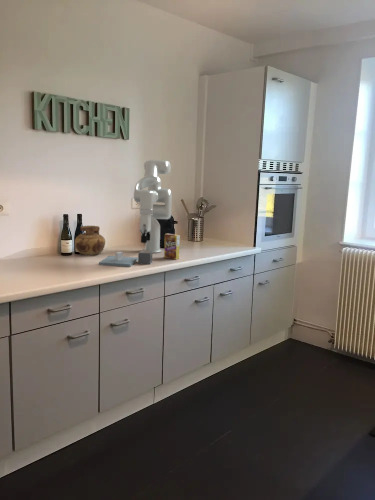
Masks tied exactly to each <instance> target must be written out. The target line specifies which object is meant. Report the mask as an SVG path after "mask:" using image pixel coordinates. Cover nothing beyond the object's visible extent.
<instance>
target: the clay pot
mask: <svg viewBox="0 0 375 500" xmlns="http://www.w3.org/2000/svg"><path fill="white" fill-rule="evenodd" d="M79 228H80V231H81V232H83V233H80V234H78V235H77V236H76V237H75V239H74V247H75V249H76V251H77V252H78V253H79V254H81V255H82V256H83V255H84V256H97V255H100V254H101V253H103V251H104V248H105V247H106V239H105V237H104V236H102V235H101V234H100V226H98V225H82V226H81V225H80V227H79Z"/></svg>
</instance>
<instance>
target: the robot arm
mask: <svg viewBox="0 0 375 500" xmlns="http://www.w3.org/2000/svg"><path fill="white" fill-rule="evenodd" d="M171 166H172V165H171V163H170V161H169V160H163V159H150V160H146V161H145V162H144V164H143V167H144V173H143V174H144V176H143V177H142V178H140V179H139V180H138V181H137V182H136V183H135V186H134V191H133V200H134V202H136V203H139V215H140V220H139V232H140V233H141V234H140V243H143V244H145V248H142V251H153V252H152V254H159V253H162V252H163V249H162V248H161V246H160V245H161V243H160V242H161V241H160V240H161V224H160V223H159V221H158V220H170V219H171V217H172V206H173V205H172V203H173V197H172V196H173V194H172V190H171V189H170V188H164V187H163V188H162V179H161V178H160V177H159V175H169V174H170V173H171V171H172V169H171V168H172V167H171ZM146 188H147V189H146ZM157 203H161V204H157Z"/></svg>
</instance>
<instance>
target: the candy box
mask: <svg viewBox="0 0 375 500" xmlns="http://www.w3.org/2000/svg"><path fill="white" fill-rule="evenodd" d="M180 239H181V235H180V234H175V233H165V234H164V247H163V248H164V251H163V252H164V255H163V258H164V259H172V260H176V261H177V260H179V259H180Z"/></svg>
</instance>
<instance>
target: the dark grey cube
mask: <svg viewBox="0 0 375 500" xmlns="http://www.w3.org/2000/svg"><path fill="white" fill-rule="evenodd" d="M152 252H153V251H143V250H140V251H139V252H138V256H137V258H138V260H137V264H138V265H151V264H152V263H153V253H152Z"/></svg>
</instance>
